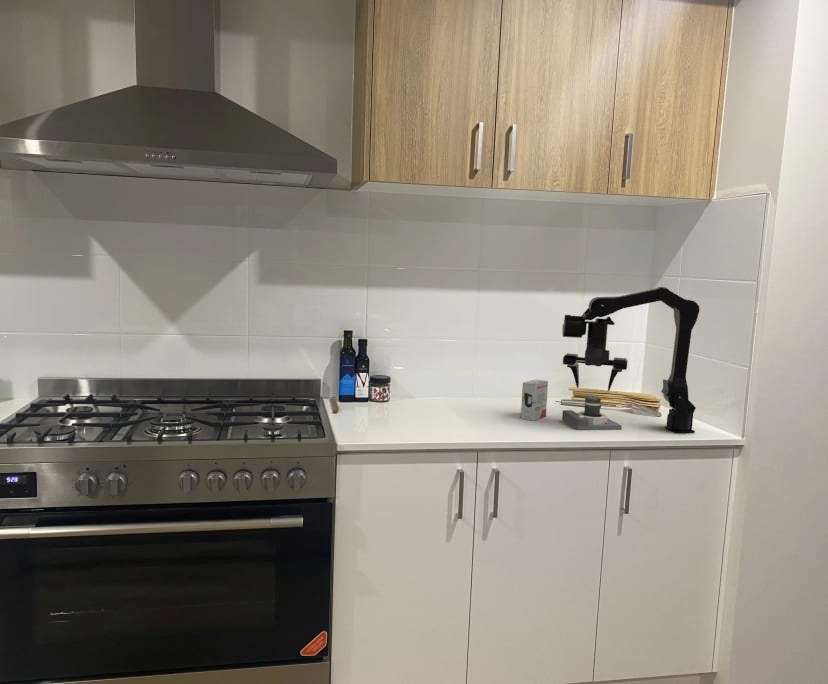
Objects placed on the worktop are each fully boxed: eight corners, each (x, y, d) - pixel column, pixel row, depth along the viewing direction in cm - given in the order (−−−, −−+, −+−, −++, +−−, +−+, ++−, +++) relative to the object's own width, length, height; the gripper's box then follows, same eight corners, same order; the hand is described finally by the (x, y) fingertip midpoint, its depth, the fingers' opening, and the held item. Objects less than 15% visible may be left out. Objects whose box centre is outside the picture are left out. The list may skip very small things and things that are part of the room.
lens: (584, 418, 209) (585, 396, 208) (599, 420, 208) (601, 397, 207) (582, 421, 205) (584, 398, 204) (598, 423, 203) (600, 400, 202)
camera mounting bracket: (603, 419, 214) (604, 408, 213) (621, 429, 202) (622, 417, 202) (562, 420, 211) (562, 408, 211) (578, 430, 199) (578, 417, 199)
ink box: (533, 414, 218) (535, 378, 217) (546, 416, 215) (549, 380, 214) (519, 418, 212) (522, 381, 210) (533, 421, 209) (535, 384, 207)
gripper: (562, 339, 199) (558, 390, 201) (628, 344, 193) (623, 397, 195) (566, 335, 209) (563, 384, 211) (629, 340, 203) (625, 390, 205)
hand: (593, 389), depth 205 cm, fingers open, 9 cm apart
